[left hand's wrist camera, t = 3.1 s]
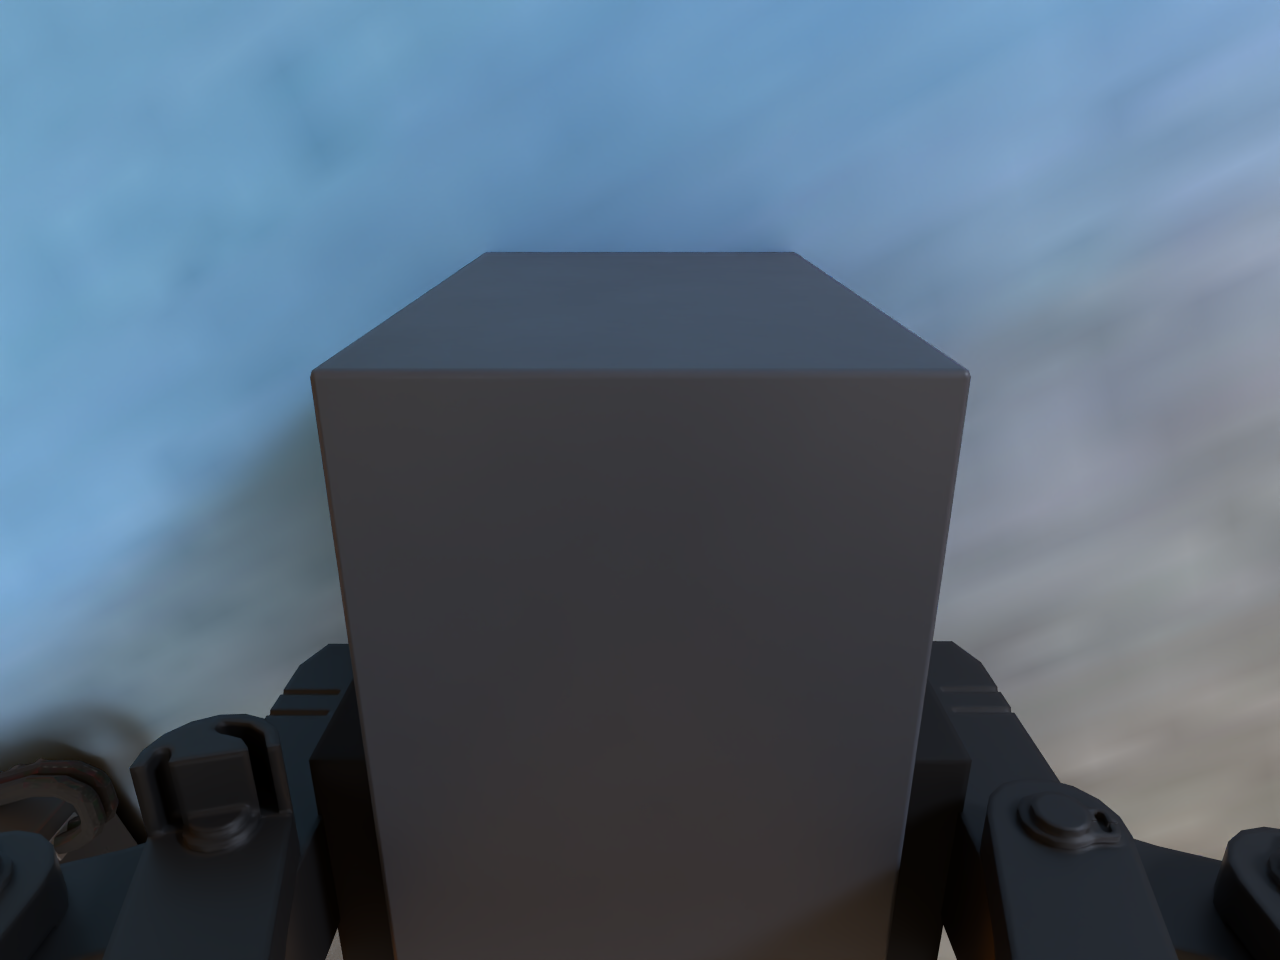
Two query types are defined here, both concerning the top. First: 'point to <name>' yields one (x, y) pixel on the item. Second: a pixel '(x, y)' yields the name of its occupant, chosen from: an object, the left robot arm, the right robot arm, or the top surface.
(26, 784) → the walkie-talkie
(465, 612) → the bar
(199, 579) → the top surface
